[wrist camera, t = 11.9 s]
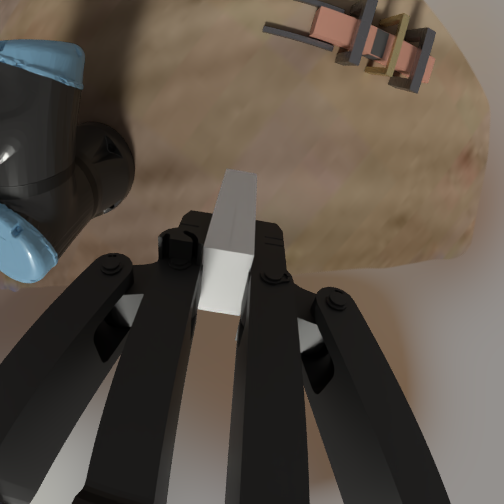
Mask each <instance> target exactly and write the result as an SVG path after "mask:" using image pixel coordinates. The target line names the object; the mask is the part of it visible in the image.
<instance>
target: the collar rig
mask: <svg viewBox="0 0 504 504" xmlns="http://www.w3.org/2000/svg"><path fill="white" fill-rule="evenodd" d="M295 1H298V2H302V3H305V4H309V5H312V6H315V7H318V8H320V7H321V6H323V7H326V8H329V9H332V10H335V11H338V12H340V13H343V14H344V11H345V10H344V9H341V8H338V7H336V6H333V5H330V4H327V3H324V2H321V1H318V0H295ZM377 2H378V0H361V1H359V2H358V3H356V4H354V5H353V6H352V7H351V11H350V14H351V15H353V16H356V17H359V20H358V23H357V27H356V30H355V33H354V37H353V40H352V43H351V46H350V50H349V52H342V53H338V54H337V57H336V60H335V62H336V63H338V64H341V65H353V66H359V63H360V60H361V56H362V53H363V50H364V47H365V43H366V40H367V37H368V33H369V30H370V27H371V23H372V20H373V16H374V13H375V10H376V6H377ZM409 19H410V16H408V15H407V14H405V13H403V14H399V15H396V16H392V17H389V18H385V19H382V20H380V23H379V25H381V26H383V27H387V26H391V25H395V24H399V25H398V28H397V32H396V35H395V39H394V42H393V45H392V49H391V52H390V55H389V58H388V62H387V65H386V68H380V67H366V69H365V72H366V73H369V74H374V75H382V76H389V77H390V80H389V83H388V85H390V86H392V87H395V88H398V89H402V90H406V91H409V92H413V93H418V90H419V87H420V84H421V81H422V78H423V75H424V72H425V69H426V66H427V62H428V59H429V56H430V52H431V49H432V45H433V41H434V38H435V34H436V32H435V31H433V30H431V29H430V28H419V29H412V30H406V29H407V26H408V22H409ZM263 32H265V33H269V34H273V35H277V36H281V37H285V38H289V39H293V40H296V41H300V42H303V43H306V44H310V45H313V46H316V47H319V48H322V49H325V50H328V51H333V47H334V46H332V45H330V44H327V43H324V42H321V41H318V40H315V39H312V38H308V37H305V36H302V35H298V34H295V33H291V32H287V31H283V30H280V29H275V28H271V27H267V26H264V28H263ZM404 39H405V40H407V41H408V42H419V46H418V49H417V52H416V56H415V59H414V62H413V66H412V69H411V72H410V75H409V78H408V79H407V78H401V77H395V76H393V73H394V69H395V66H396V63H397V60H398V57H399V53H400V50H401V47H402V43H403V40H404Z"/></svg>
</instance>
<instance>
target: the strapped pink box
mask: <svg viewBox="0 0 504 504" xmlns="http://www.w3.org/2000/svg"><path fill="white" fill-rule="evenodd" d="M358 20H359V19H356V18H354V17H351V16H348V15H346V14H343V13H340V12H338V11H335V10H332V9H329V8H326V7H323V6H321V7H320V8H319V9H318V10H317V11H316V13H315V17H314V20H313V23H312V27H311V30H310V34H309V37H312V38H315V39H319V40H322V41H325V42H328V43H331V44H333V45H336V46H339V47H342V48H344V49H347V50H350V46H351V43H352V40H353V37H354V33H355V30H356V27H357V23H358ZM394 39H395V36H394V35H392V34H390V33H388V32H386V31H384V30H382V29H380V28H378V27H375V26H373V25H371V27H370V30H369V33H368V37H367V40H366V43H365V47H364V50H363V53H362V56H364V57H366V58H368V59H371V60H374V61H376V62H378V63H380V64H383V65H385V66H386V65H387V62H388V58H389V55H390V52H391V49H392V45H393V42H394ZM417 49H418V48H416V47H415V46H413V45H411V44H409V43H407V42H406V41H404V40H403V43H402V47H401V50H400V53H399V57H398V60H397V63H396V66H395V69H394V70H395V71H397V72H399V73H401V74H403V75H405V76H407V77H409V75H410V72H411V69H412V66H413V62H414V59H415V56H416V52H417ZM434 62H435V58H433V57H432V56H429V59H428V62H427V66H426V69H425V72H424V75H423V78H422V81H421V82H424V83H428V82H429V78H430V75H431V72H432V69H433V65H434Z"/></svg>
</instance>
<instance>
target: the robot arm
mask: <svg viewBox="0 0 504 504" xmlns="http://www.w3.org/2000/svg"><path fill="white" fill-rule="evenodd" d="M84 63H85V54H84V51H83V50H82V48H81V47H80V46H78V45H76V44H73V43H68V42H61V41H51V40H33V39H18V40H4V41H0V271H2V272H3V273H4V274H6V275H7V276H9V277H11V278H12V279H15V280H17V281H20V282H23V283H34V282H37V281H39V280H41V279H42V278H43V277H44V276H45V275H46V274H47V272H48V271H49V270H50V269H51V268H52V267H54V266H55V265H56V264H57V262H58V260H59V258H60V257H61V256H62V254H63V253H64V252H65V250H66V249H67V248H68V247H69V245H70V244H71V243H72V241H73V240H74V239H75V238H76V236H77V235H78V234H79V233H80V232H81V230H82V229H83V228H84V227H85V226H86V225H87V223H88V222H89V221H90V220H91V219H93V218H95V217H97V216H100V215H102V214H105V213H107V212H109V211H111V210H113V209H114V208H116V207H117V206H118V205H119V204H120V203H121V202H122V201H123V200H124V198H125V197H126V196H127V195H128V193H129V191H130V189H131V187H132V184H133V180H134V162H133V158H132V154H131V152H130V149H129V147H128V145H127V143H126V142H125V140H124V139H123V138H122V137H121V136H120V134H119V133H117V132H116V131H115V130H114V129H112V128H111V127H109V126H107V125H105V124H102V123H98V122H87V123H82V124H80V125H78V126H77V121H78V112H79V104H80V97H81V90H83V84H82V81H83V71H84ZM256 190H257V174H256V173H250V172H244V171H238V170H232V169H226V172H225V176H224V179H223V182H222V185H221V188H220V192H219V195H218V198H217V202H216V205H215V208H214V212H213V214H211V213H205V212H198V211H192V210H191V211H190V212H188V213H187V214H185V215H184V216H183V218H182V220H181V222H180V225H179V227H178V228H172V229H168V230H166V231H164V232H162V233H161V234H160V235H159V236H158V251H159V259H158V261H157V262H155V263H152V264H146V265H132V262H131V260H130V258H128V257H127V256H125V255H123V254H119V253H109V254H105V255H102V256H100V257H99V258H97V259H96V260H95V261H94V262H93V263H92V264H91V265H90V266H89V267H88V268H87V269H85V270H84V271H83V272H82V273H81V274H80V275H79V276H78V277H77V278H76V279H75V280H74V281H73V282H72V283H71V284H70V285H69V286H68V287H67V289H66V290H65V291H64V292H63V293H62V294H61V295H60V296H59V297H58V298H57V299H56V300H55V301H54V302H53V303H52V304H51V305H50V306H49V308H48V309H47V310H46V311H45V312H44V313H43V314H42V315H41V316H40V317H39V319H38V320H37V321H36V322H35V323H34V324H33V326H31V328H30V329H29V330H28V331H27V332H26V334H25V335H24V336H23V337H22V338H21V339H20V341H19V342H18V343H17V344H16V345H15V347H14V348H13V349H12V350H11V352H10V353H9V354H8V355H7V357H6V358H5V359H4V360H3V362H2V363H1V364H0V504H29V503H30V502H31V501H32V499H33V497H34V496H35V494H36V493H37V491H38V489H39V487H40V485H41V484H42V482H43V480H44V478H45V476H46V474H47V473H48V471H49V469H50V467H51V465H52V463H53V462H54V460H55V458H56V457H57V455H58V453H59V452H60V450H61V448H62V446H63V445H64V443H65V441H66V440H67V438H68V436H69V435H70V433H71V431H72V429H73V428H74V426H75V425H76V423H77V421H78V420H79V418H80V416H81V415H82V413H83V412H84V410H85V408H86V407H87V405H88V403H89V402H90V400H91V399H92V397H93V396H94V394H95V393H96V391H97V389H98V388H99V386H100V385H101V383H102V381H103V380H104V379H105V377H106V376H107V374H108V373H109V371H110V370H111V368H112V366H113V365H114V364H115V362H116V360H117V359H118V357H119V356H120V355H121V357H120V360H119V362H118V366H117V368H116V371H115V375H114V378H113V381H112V384H111V387H110V390H109V393H108V397H107V400H106V404H105V407H104V410H103V414H102V417H101V421H100V424H99V428H98V432H97V436H96V440H95V443H94V447H93V452H92V456H91V460H90V464H89V469H88V473H87V479H86V482H85V485H84V487H83V489H82V490H81V491H80V492H79V493H78V494H77V495H76V496H75V498H74V500H73V502H72V504H166V502H167V494H168V486H169V477H170V470H171V464H172V456H173V450H174V449H173V448H174V443H175V436H176V430H177V424H178V418H179V411H180V405H181V399H182V394H183V388H184V382H185V377H186V371H187V365H188V361H189V355H190V349H191V345H192V340H193V335H194V330H195V324H196V316H197V309H201V310H206V311H213V312H219V313H225V314H232V315H240V313H241V317H240V322H239V326H238V330H237V334H236V338H235V340H236V341H237V348H236V360H235V372H234V385H233V398H232V412H231V424H230V439H229V452H228V466H227V480H226V494H225V504H310V503H309V474H308V473H309V472H308V451H307V432H306V417H305V401H304V388H305V391H306V394H307V397H308V400H309V402H310V406H311V408H312V411H313V414H314V417H315V420H316V423H317V426H318V428H319V431H320V435H321V437H322V440H323V443H324V446H325V449H326V452H327V455H328V458H329V461H330V464H331V467H332V469H333V472H334V476H335V479H336V482H337V484H338V487H339V490H340V493H341V496H342V499H343V502H344V504H450V500H449V498H448V495H447V492H446V490H445V487H444V485H443V482H442V480H441V477H440V474H439V472H438V469H437V467H436V464H435V462H434V460H433V457H432V455H431V453H430V450H429V448H428V446H427V444H426V441H425V439H424V436H423V434H422V432H421V430H420V428H419V425H418V423H417V421H416V419H415V417H414V415H413V412H412V410H411V408H410V406H409V404H408V402H407V400H406V398H405V396H404V394H403V392H402V390H401V388H400V386H399V384H398V382H397V380H396V378H395V376H394V374H393V372H392V370H391V368H390V366H389V364H388V362H387V360H386V358H385V356H384V354H383V352H382V351H381V349H380V347H379V345H378V343H377V341H376V339H375V338H374V336H373V334H372V332H371V330H370V328H369V327H368V325H367V323H366V321H365V319H364V318H363V316H362V314H361V312H360V310H359V309H358V307H357V305H356V304H355V302H354V300H353V299H352V298H351V296H350V295H349V294H347V293H346V292H344V291H343V290H340V289H338V288H334V287H326V288H322V289H321V290H319V291H318V292H317V294H315V293H312V292H310V291H307V290H305V289H302V288H300V287H299V286H297V285H296V284H294V282H293V279H292V276H291V274H290V273H289V272H288V271H287V269H286V259H285V249H284V241H283V231H282V230H281V229H280V227H279V226H278V225H277V224H275V223H269V222H264V221H258V220H255V219H256ZM121 353H122V354H121ZM303 385H304V388H303Z"/></svg>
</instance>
